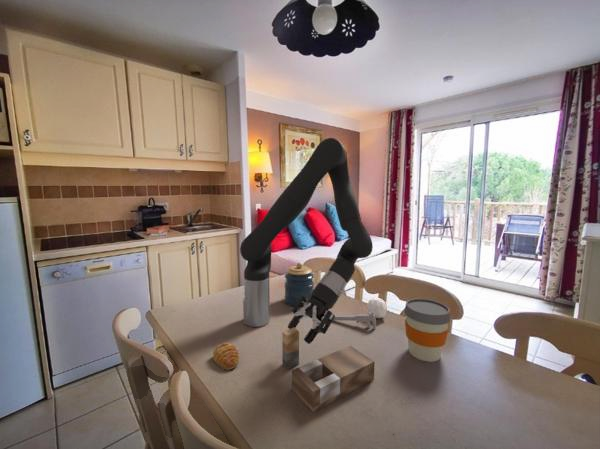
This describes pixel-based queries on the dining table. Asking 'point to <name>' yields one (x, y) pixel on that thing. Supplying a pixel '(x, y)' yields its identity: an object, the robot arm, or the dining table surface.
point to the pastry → (226, 356)
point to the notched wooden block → (332, 377)
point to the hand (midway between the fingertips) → (297, 335)
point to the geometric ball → (377, 307)
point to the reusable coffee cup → (426, 328)
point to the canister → (298, 284)
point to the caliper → (359, 319)
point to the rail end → (290, 347)
